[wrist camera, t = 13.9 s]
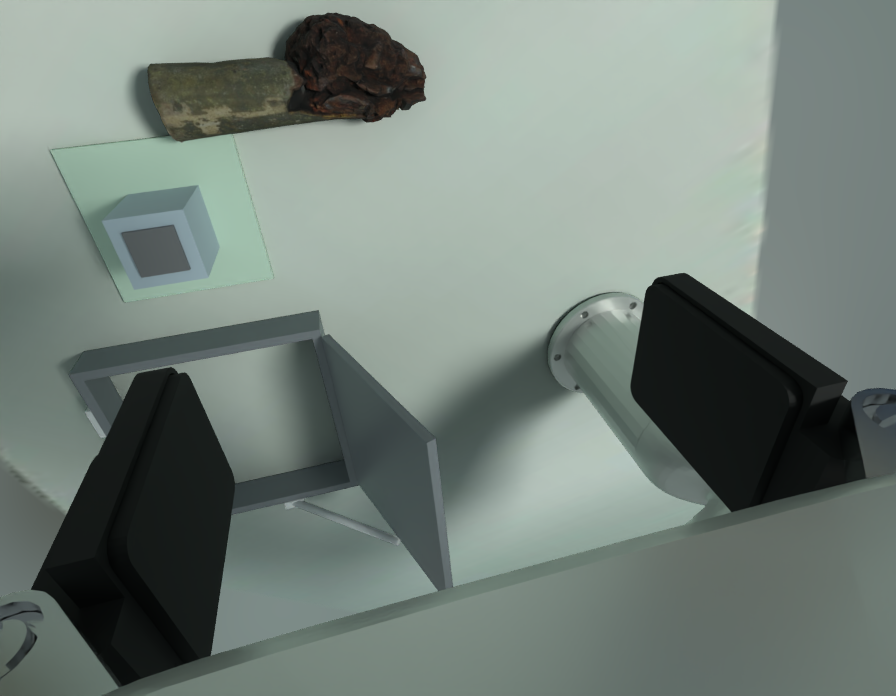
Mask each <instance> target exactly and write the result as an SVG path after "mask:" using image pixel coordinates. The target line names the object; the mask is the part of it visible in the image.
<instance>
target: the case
mask: <svg viewBox="0 0 896 696" xmlns="http://www.w3.org/2000/svg"><path fill="white" fill-rule="evenodd" d="M323 336H325V334H324V330H323V326H322V322H321V318H320V314H319V310H318V311H312V312H307V313H301V314H295V315H290V316H284V317H278V318H272V319H267V320H261V321H255V322H250V323H244V324H238V325H232V326H227V327H221V328H215V329H209V330H204V331H198V332H192V333H187V334H181V335H175V336H169V337H164V338H158V339H152V340H146V341H141V342H135V343H129V344H124V345H118V346H112V347H106V348H101V349H95V350H89V351H84V352H83V353H82V355H81V356H80V358H79V359H78V361H77V362H76V364H75V365H74V367H73V368H72V370H71V372H70V373H69V377H70V378H71V380H72V382H73V383H74V385H75V387H76V388H77V390H78V391H79V393H80V395H81V396H82V398H83V400H84V401H85V403H86V404H87V406H88V407H87V409H86V411H85V414H86V415H87V417H88V419H89V420H90V422H91V423H92V425H93V427H94V428H95V430H96V431H97V433H98V435H99V436H100V438H104V437H107V435H108V433H109V431H110V428H111V426H112V424H113V422H114V420H115V418H116V416H117V414H118V411H119V409H120V407H121V405H122V403H123V401H122V399H121V397H120V396H119V394H118V392H117V390H116V388H115V387H114V385H113V383H112V381H111V380H110V378H109V376H113V375H118V374H124V373H129V372H135V371H140V370H145V369H151V368H156V367H162V366H167V365H173V364H178V363H184V362H189V361H195V360H200V359H206V358H211V357H216V356H222V355H227V354H233V353H238V352H244V351H249V350H255V349H260V348H266V347H271V346H277V345H282V344H288V343H293V342H298V341H304V340H309V339H313V343H314V347H315V351H316V354H317V358H318V362H319V366H320V370H321V373H322V377H323V381H324V385H325V388H326V392H327V396H328V400H329V404H330V407H331V411H332V415H333V419H334V423H335V426H336V430H337V434H338V438H339V442H340V445H341V449H342V453H343V457H344V460H341V461H337V462H332V463H328V464H323V465H319V466H314V467H310V468H305V469H300V470H296V471H291V472H287V473H282V474H278V475H273V476H269V477H264V478H260V479H255V480H251V481H246V482H242V483H237V484H235V493H234V500H233V507H232V513H231V515H233V514H237V513H242V512H246V511H250V510H255V509H259V508H263V507H268V506H272V505H276V504H281V503H284V505H285V507H286V509H291V508H295V507H298V508H300V509H303V510H305V511H308V512H311V513H313V514H316V515H318V516H321V517H324V518H326V519H329V520H331V521H334V522H337V523H339V524H342V525H344V526H347V527H350V528H352V529H355V530H357V531H360V532H363V533H365V534H368V535H370V536H373V537H376V538H378V539H381V540H383V541H386V542H389V543H391V544H394V545H396V546H398V545H399V544H400V541H401V540H400V539H399V538H398V537H397V536H395V535H392V534H389V533H387V532H384V531H382V530H379V529H376V528H374V527H371V526H368V525H366V524H363V523H360V522H358V521H355V520H352V519H350V518H347V517H344V516H342V515H339V514H336V513H334V512H331V511H328V510H326V509H323V508H320V507H318V506H315V505H312V504H310V503H307V502H305V498H307V497H311V496H315V495H320V494H324V493H328V492H333V491H337V490H341V489H346V488H350V487H354V486H359V484H358V481H357V477H356V473H355V469H354V465H353V461H352V457H351V453H350V449H349V445H348V441H347V437H346V433H345V429H344V425H343V421H342V417H341V413H340V409H339V405H338V401H337V397H336V394H335V390H334V386H333V382H332V378H331V374H330V370H329V366H328V362H327V358H326V354H325V350H324V346H323V342H322V338H321V337H323Z"/></svg>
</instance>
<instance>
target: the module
mask: <svg viewBox="0 0 896 696" xmlns="http://www.w3.org/2000/svg"><path fill="white" fill-rule="evenodd" d="M102 223H103V225H104V227H105V229H106V231H107V234H108V236H109V238H110V240H111V242H112V244H113V246H114V248H115V250H116V253H117V255H118V257H119V259H120V261H121V263H122V265H123V267H124V269H125V272H126V274H127V276H128V278H129V280H130V282H131V284H132V286H133V288H134V290H137V289H143V288H149V287H155V286H161V285H167V284H174V283H180V282H186V281H192V280H198V279H204V278H209V275H210V273H211V270H212V267H213V264H214V262H215V259H216V256H217V253H218V251H219V248H220V246H219V243H218V240H217V237H216V234H215V231H214V228H213V226H212V223H211V220H210V217H209V214H208V211H207V208H206V205H205V203H204V200H203V197H202V194H201V191H200V188H199V185H194V186H187V187H179V188H172V189H164V190H157V191H150V192H142V193H135V194H128V195H127V196H126V197H125V198H124V199H123V200H122V201H121V202H120V203H119V204H118V205H117V206H116V207H115V208H114V209H113V210H112V211H111V212H110V213H109V214H108V215H107V216H106V217H105V218H104V219H103V220H102Z"/></svg>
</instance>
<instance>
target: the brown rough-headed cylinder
mask: <svg viewBox="0 0 896 696" xmlns="http://www.w3.org/2000/svg"><path fill="white" fill-rule="evenodd" d="M425 79H426V75H425V72H424V68H423V66H422V65H421V63H420V62H419V58H418V56H417V55H416V54H415V53H413V52H411V51H410V50H408V49H407V48H405V47H404V46H403V45H402V44H401V43H399V42H397V41H395V40H392V39H391V37H390V35H389V34H388V33H387V32H386V31H385V30H383V29H381V28H379V27H377V26H376V25H374V24H367V23H365V22H363V21H361V20H360V19H358V18H356V17H350V16H348V15H342V14H338V13H327V14H325V15H312V16H308V17H307V18H305V20H304V21H303V22H302V23H301V24H300V25H299V26H298V27H297V29H296V30H295V32H294V33H293V34H292V35H291V36H290V37H289V38H288V40H287V41H286V51H285V60H280V59H276V58H269V57H266V58H256V59H240V60H229V61H222V62H216V63H162V64H150V65H149V67H148V84H149V88H150V93H151V96H152V99H153V102H154V104H155V106H156V108H157V110H158V112H159V114H160V116H161V120H162V122H163V124H164V125H165V127H166V129H167V131H168V133H169V135H170V136H171V137H172V138H173V139H174V140H176V141H179V142H181V143H182V142H184V141H189V140H195V139H201V138H208V137H214V136H220V135H227V134H235V133H242V132H248V131H254V130H261V129H267V128H274V127H280V126H287V125H294V124H302V123H310V122H317V121H325V120H333V119H362V120H363V121H365V122H376V121H379V120H381V119H382V118H383V117H391V115H392V114H394V112H395V111H396V110H399V108H400V109H401V110H409V109H410V108H411V106H412V105H414V104H416V103H418V102H421V101H425V100H426V97H425V96H424V87H425V86H424V83H425Z"/></svg>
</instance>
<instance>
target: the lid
mask: <svg viewBox="0 0 896 696" xmlns="http://www.w3.org/2000/svg"><path fill="white" fill-rule="evenodd" d="M321 338H322V342H323V346H324V350H325V354H326V358H327V362H328V366H329V370H330V374H331V378H332V382H333V386H334V390H335V394H336V397H337V401H338V405H339V409H340V413H341V417H342V421H343V425H344V429H345V433H346V437H347V441H348V445H349V449H350V453H351V457H352V461H353V465H354V469H355V473H356V477H357V481H358V484H359V486H360V487H361V488H362V490H363V491H364V492H365V494H366V495H367V496H368V498H369V499H370V500H371V502H372V503H373V504H374V506H375V507H376V508H377V510H378V511H379V512H380V514H381V515H382V516H383V518H384V519H385V520H386V522H387V523H388V524H389V526H390V527H391V528H392V530H393V531H394V532H395V534H396V535H397V536H398V538H399V539H400V540H401V542H402V543H403V544H404V546H405V547H406V548H407V550H408V551H409V552H410V554H411V555H412V556H413V558H414V559H415V560H416V562H417V563H418V564H419V566H420V567H421V568H422V570H423V571H424V572H425V574H426V575H427V577H428V578H429V579H430V581H431V582H432V583H433V585H434V586H435V587H436V589H437V590H438V591H441V590H445V589H448V588H452V587H453V582H452V574H451V565H450V556H449V548H448V539H447V530H446V522H445V513H444V504H443V496H442V487H441V479H440V470H439V461H438V453H437V444H436V438H435V437H434V436H433V435H432V434H431V433H430V432H429V431H428V430H427V429H426V428H425V427H424V426H423V425H422V424H421V423H420V422H419V421H418V420H416V419H415V418H414V417H413V416H412V415H411V414H410V413H409V412H408V411H407V410H406V409H405V408H404V407H403V406H402V405H401V404H400V403H399V402H398V401H397V400H396V399H395V398H394V397H393V396H392V395H391V394H390V393H389V392H388V391H387V390H386V389H385V388H384V387H383V386H382V385H380V384H379V383H378V382H377V381H376V380H375V379H374V378H373V377H372V376H371V375H370V374H369V373H368V372H367V371H366V370H365V369H364V368H363V367H362V366H361V365H360V364H359V363H358V362H357V361H356V360H355V359H354V358H353V357H352V356H351V355H350V354H349V353H348V352H347V351H346V350H344V349H343V348H342V347H341V346H340V345H339V344H338V343H337V342H336V341H335V340H334V339H333V338H332V337H331V336H330V335H329V334H328V335H325V336H323V337H321Z"/></svg>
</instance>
